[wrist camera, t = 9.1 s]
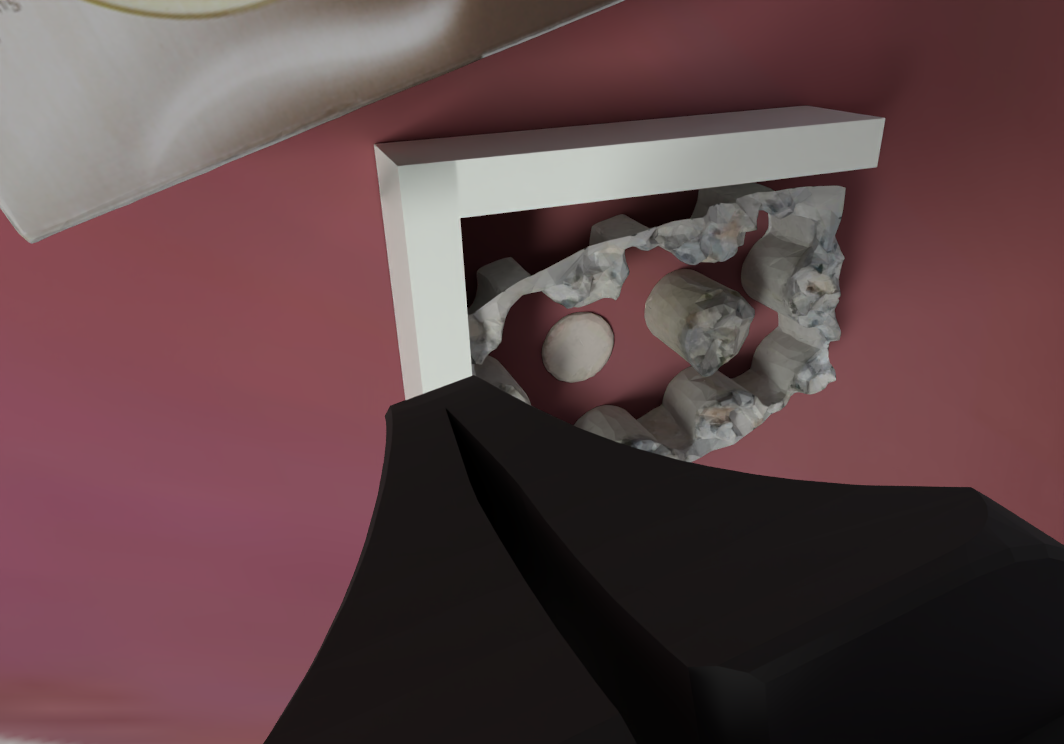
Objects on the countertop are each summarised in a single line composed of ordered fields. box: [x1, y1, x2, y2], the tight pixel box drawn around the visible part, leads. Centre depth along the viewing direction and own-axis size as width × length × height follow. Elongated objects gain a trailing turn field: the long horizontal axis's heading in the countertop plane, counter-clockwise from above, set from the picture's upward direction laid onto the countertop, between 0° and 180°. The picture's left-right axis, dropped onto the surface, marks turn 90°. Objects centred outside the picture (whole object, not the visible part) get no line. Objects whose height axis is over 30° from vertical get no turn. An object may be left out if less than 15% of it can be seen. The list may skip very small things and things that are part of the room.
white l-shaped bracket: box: [374, 105, 885, 400], centre depth 22 cm, size 12×17×3 cm
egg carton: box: [467, 183, 846, 462], centre depth 20 cm, size 11×8×4 cm
